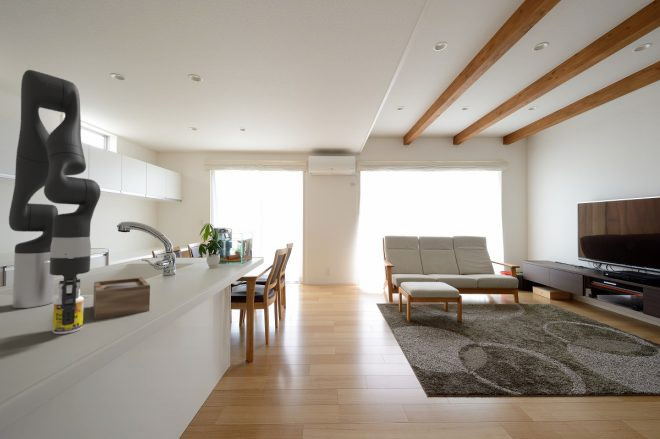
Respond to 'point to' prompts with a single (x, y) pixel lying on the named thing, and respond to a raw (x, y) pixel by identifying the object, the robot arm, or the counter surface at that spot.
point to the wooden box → (120, 297)
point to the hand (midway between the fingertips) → (68, 320)
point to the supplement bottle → (78, 317)
